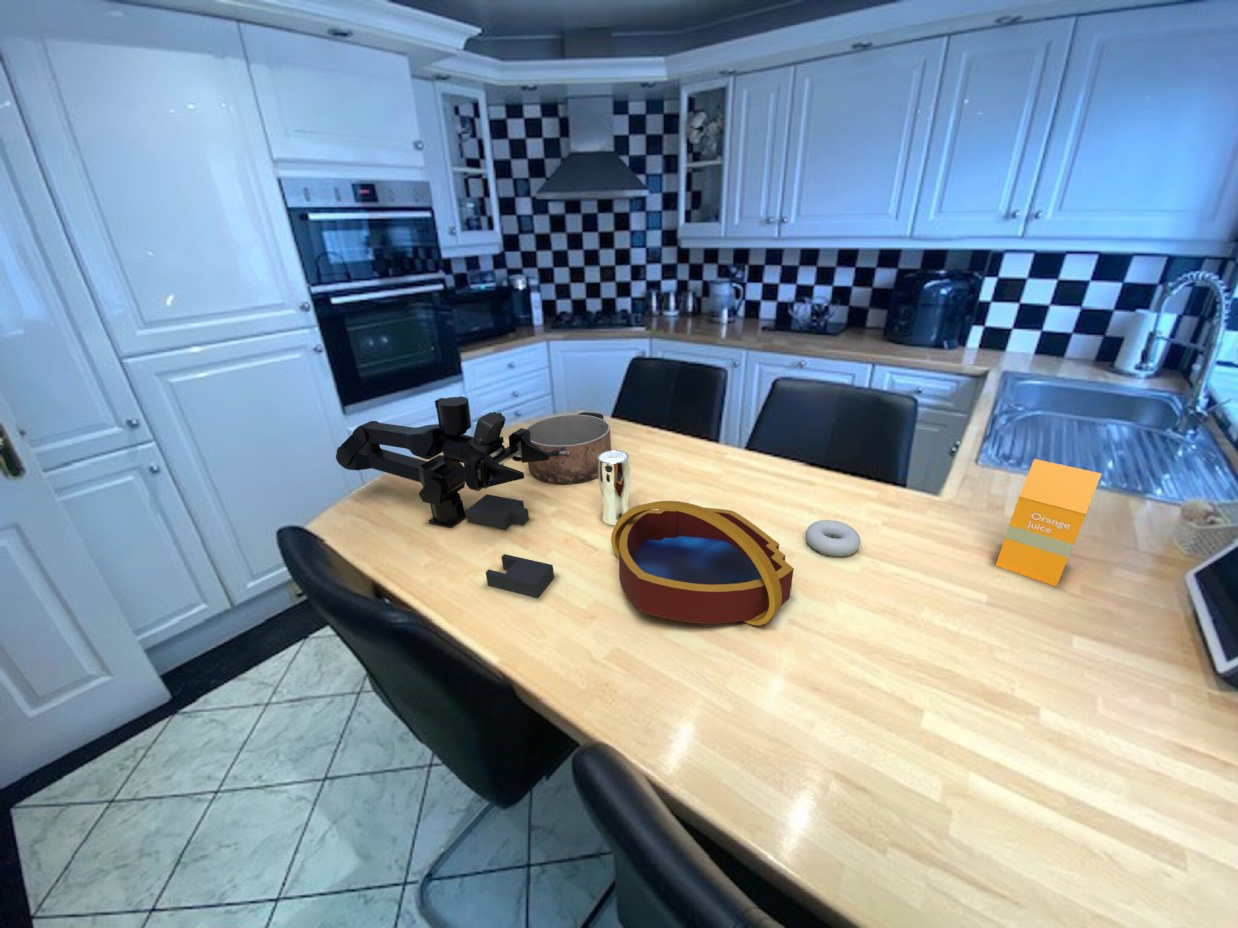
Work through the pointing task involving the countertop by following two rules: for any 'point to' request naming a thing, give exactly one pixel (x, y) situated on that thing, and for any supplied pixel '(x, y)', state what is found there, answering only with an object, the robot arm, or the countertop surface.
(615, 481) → the beer glass
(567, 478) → the cooking pot
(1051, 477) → the orange juice
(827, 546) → the donut
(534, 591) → the black flat notched block
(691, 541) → the decorative basket
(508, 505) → the dock pad
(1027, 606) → the countertop surface
